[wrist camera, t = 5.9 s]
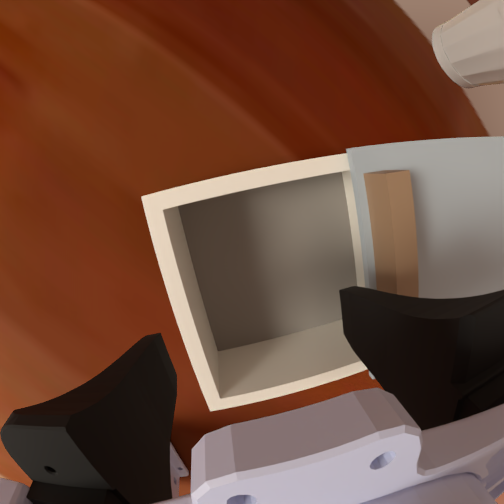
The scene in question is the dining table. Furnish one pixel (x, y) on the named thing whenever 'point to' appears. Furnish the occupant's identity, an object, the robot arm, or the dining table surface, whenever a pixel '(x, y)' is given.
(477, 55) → the cup
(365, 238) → the lid
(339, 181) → the carton
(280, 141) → the dining table surface
